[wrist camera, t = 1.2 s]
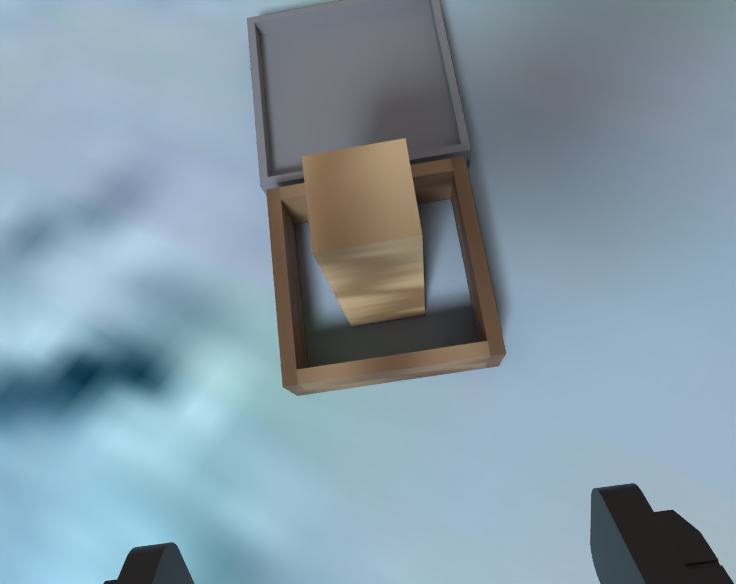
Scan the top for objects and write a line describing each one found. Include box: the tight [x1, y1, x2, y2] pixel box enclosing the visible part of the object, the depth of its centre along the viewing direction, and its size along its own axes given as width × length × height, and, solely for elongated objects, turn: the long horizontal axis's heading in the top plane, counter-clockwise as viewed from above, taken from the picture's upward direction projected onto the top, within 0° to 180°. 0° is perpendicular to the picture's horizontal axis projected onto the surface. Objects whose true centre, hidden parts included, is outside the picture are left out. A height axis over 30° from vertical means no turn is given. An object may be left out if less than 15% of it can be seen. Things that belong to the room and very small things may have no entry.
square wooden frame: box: [266, 156, 506, 396], centre depth 33 cm, size 12×12×4 cm
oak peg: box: [302, 138, 425, 326], centre depth 29 cm, size 4×4×12 cm
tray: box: [247, 0, 471, 196], centre depth 38 cm, size 13×13×2 cm
